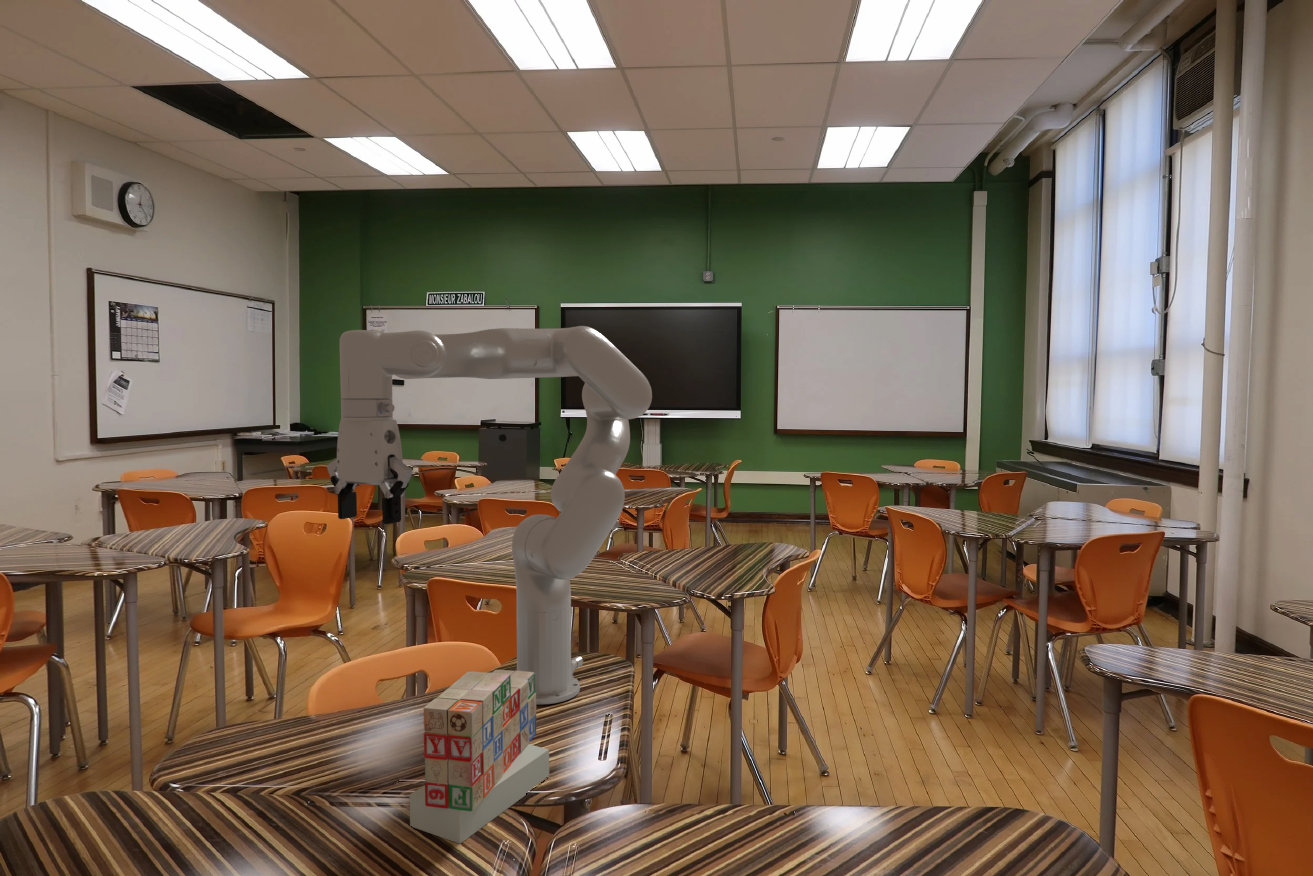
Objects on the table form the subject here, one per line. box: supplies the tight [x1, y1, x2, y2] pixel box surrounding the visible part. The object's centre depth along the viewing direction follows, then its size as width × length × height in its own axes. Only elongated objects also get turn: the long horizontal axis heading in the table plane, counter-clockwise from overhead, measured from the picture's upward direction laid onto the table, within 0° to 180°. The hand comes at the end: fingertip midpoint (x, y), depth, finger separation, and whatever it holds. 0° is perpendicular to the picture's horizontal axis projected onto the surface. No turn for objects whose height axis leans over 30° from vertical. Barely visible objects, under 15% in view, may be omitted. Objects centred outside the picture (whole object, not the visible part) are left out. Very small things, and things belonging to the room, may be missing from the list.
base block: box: [409, 743, 550, 844], centre depth 103 cm, size 18×8×4 cm, turn 152°
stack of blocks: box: [423, 669, 537, 811], centre depth 103 cm, size 21×6×12 cm, turn 168°
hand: (369, 520), depth 123 cm, fingers open, 9 cm apart
